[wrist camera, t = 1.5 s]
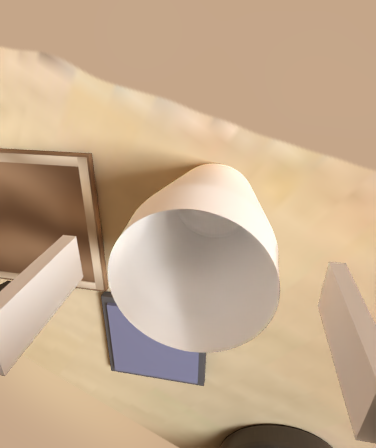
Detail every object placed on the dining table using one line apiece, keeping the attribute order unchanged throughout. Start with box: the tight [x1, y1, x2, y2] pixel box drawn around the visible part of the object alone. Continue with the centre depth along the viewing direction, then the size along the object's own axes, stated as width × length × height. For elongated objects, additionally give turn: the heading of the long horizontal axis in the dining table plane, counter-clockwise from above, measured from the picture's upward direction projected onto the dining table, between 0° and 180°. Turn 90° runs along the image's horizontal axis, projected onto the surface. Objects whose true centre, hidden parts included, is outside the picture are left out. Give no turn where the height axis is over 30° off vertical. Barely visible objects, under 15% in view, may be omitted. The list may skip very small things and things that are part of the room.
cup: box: [108, 163, 280, 353], centre depth 21 cm, size 9×9×12 cm
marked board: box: [0, 149, 108, 292], centre depth 30 cm, size 14×14×1 cm
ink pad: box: [101, 291, 206, 386], centre depth 34 cm, size 11×11×1 cm
